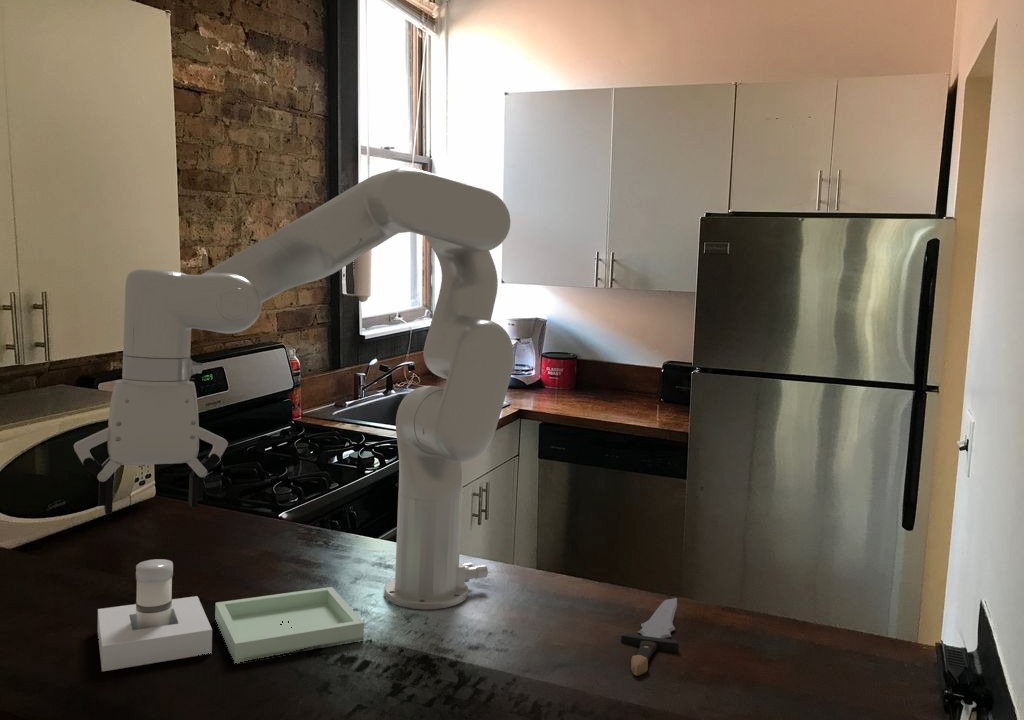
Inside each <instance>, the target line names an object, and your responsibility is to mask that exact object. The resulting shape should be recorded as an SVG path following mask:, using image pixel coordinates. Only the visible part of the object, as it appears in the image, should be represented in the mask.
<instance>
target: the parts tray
mask: <svg viewBox="0 0 1024 720" xmlns="http://www.w3.org/2000/svg"><path fill="white" fill-rule="evenodd" d="M214 607H215V608H214V609H215V610H214V611H215V612H214V616H215V618H214V621H215V620H216V622H217V624H218V626H217V628H218V627H219V628H218V630H219V629H220V630H219V632H220V631H221V633H220V635H221V634H222V635H221V637H222V636H223V637H222V639H223V638H224V639H223V641H224V640H225V641H224V643H226V644H225V645H227V646H226V648H227V647H228V648H227V651H228V652H229V654H231V655H230V656H232V657H231V659H232V658H233V659H232V661H233V660H234V661H233V663H234V664H235V663H237V664H241V663H240V662H243V663H245V662H244V661H248V660H252V659H257V658H258V659H259V658H264V657H269V656H273V655H280V654H284V653H289V652H293V651H296V650H300V649H304V648H308V647H313V646H318V645H325V644H332V643H342V642H347V641H348V642H349V641H359V640H363V641H364V636H365V634H364V631H365V622H364V621H363V620H362V619H361V617H359V615H358V614H357V613H356V612H355V611H354V610H353V609H352V607H351V606H350V605H349V604H348V603H347V602H346V601H345V599H344V598H343V597H342V596H341V595H340V594H339V593H338V592H337V591H336V589H334V587H333V586H329V587H323V588H322V587H321V588H314V589H305V590H299V591H291V592H290V591H289V592H285V593H276V594H270V595H262V596H256V597H255V596H254V597H247V598H241V599H232V600H227V601H226V600H225V601H224V600H223V601H218V602H215V605H214ZM282 621H283V623H282ZM288 621H289V623H288ZM216 622H215V623H216ZM217 624H216V625H217ZM280 624H282V625H280ZM291 627H292V628H291Z"/></svg>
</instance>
